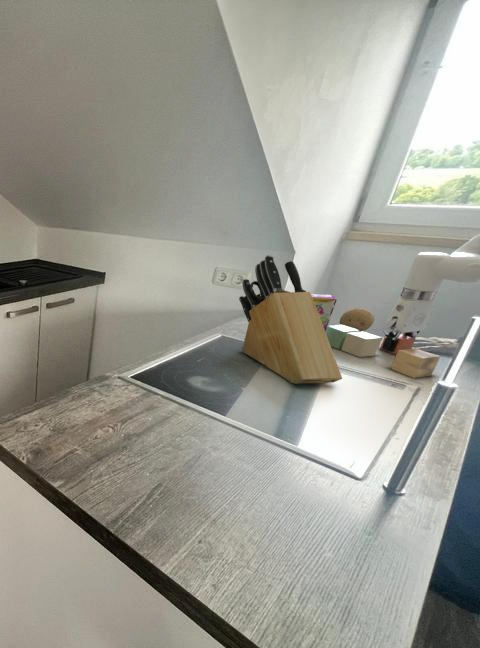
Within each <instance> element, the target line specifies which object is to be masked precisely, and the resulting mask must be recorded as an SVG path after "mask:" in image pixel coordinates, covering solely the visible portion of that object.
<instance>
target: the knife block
mask: <svg viewBox="0 0 480 648" xmlns="http://www.w3.org/2000/svg"><path fill="white" fill-rule="evenodd" d="M277 267H278V266H277V265H276V263H275V260H274V256H273V255H269V254H268V255H267V254H266V256H264V259H262V260H261V261H260V262H259V263H257V264H256V265H255V268H254V271H255V277H256V280H254V281H252V282H251V283H250V279H248V278H244V279H243V280H242V288H243V289H242V290H243V293H244V295H245V296H243V295H240V296H239V298H238V300H239V302H240V304H241V307H242V310H243V313H244V316H245V317H246V320H247V322H248V324H247V328H246V332H245V337H244V340H243V346H242V348H241V352H242V353H244V354H245V355H247V356H249V357H250V358H252V359H254V360H256V361H257V362H259V363H260V364H263V365H265V367H267V368H268V369H270V370H271V371H273V372H275V373H276V374H278V375H280V376H281V377H282V378H285V379H286V380H287V381H289V382H290V383H292V384H296V385H297V384H331V383H336V382H338V381H340V380H342V379H343V376H342V373H341V371H340V368H339V365H338V362H337V360H336V357H335V354H334V352H333V349H332V346H330V343H329V341H328V338H327V335H326V332H325V330H324V327H323V324H322V322H321V319H320V317H319V314H318V311H317V309H316V306H315V303H314V301H313V298H312V296H311V294H312V293H311V292H310V291H307V290H304V289H303V288H302V281H301V277H300V274H299V271H298V268H297V266H296V264H295V262H294V261H293V260H292V261H291V260H290V261H287V262H285V264H284V269H285V271H286V272H287V274H288V277H289V280H290V282H291V284H292V286H293V288H294V291H288V290H285V289H284V288H283V287H282V280H281V275H280V272H279V270H278V268H277ZM254 285H255V286H257V288H258V290H259V293H258V294H256V293H255V290H254Z"/></svg>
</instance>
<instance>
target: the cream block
mask: <svg viewBox="0 0 480 648" xmlns="http://www.w3.org/2000/svg"><path fill="white" fill-rule="evenodd" d="M382 341H383V337H382V336H378V335H375V334H373V333H369V332H367V331H364V332H363V331H362V332H352V333H347V335H346V338H345V341H344V344H343V346H342V348H341V349H340V350H341V351H344V352H345V353H347V354H351V355H353V356H356V357H359V358H364V357H373V356H376V355H377V352H378V350H379V349H380V348H379V347H380V346H381V344H382Z"/></svg>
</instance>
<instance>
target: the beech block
mask: <svg viewBox="0 0 480 648" xmlns="http://www.w3.org/2000/svg"><path fill="white" fill-rule="evenodd" d="M440 358H441V356H440V355H437V354H434V353H431V352H428V351H425V350H422V349H419V348H417V347H416V348H411V349H406V350H398V353H397V355H396V354H395V357H394V360H393V362H392V365H391V367H390V370H392V371H394V372H397V373H399V374H402V375H405V376H408V377H410V378H412V379H416V378H424V377H431V376H432V375H433V373H434V370H435V369H436V366H437V364H438V362H439V360H440Z"/></svg>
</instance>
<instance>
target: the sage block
mask: <svg viewBox="0 0 480 648" xmlns="http://www.w3.org/2000/svg"><path fill="white" fill-rule="evenodd" d="M359 331H360V330H357V329H354V328H351V327H348V326H345V325H340V324H335V325H328V326H327V328H326V331H325V332H326V335H327V338H328V341H329V343H330V346H331V348H335V349H338V350H339V349H340V350H341V349H342V346H343V344H344V341H345V338H346V335H347V333H352V332H359Z"/></svg>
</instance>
